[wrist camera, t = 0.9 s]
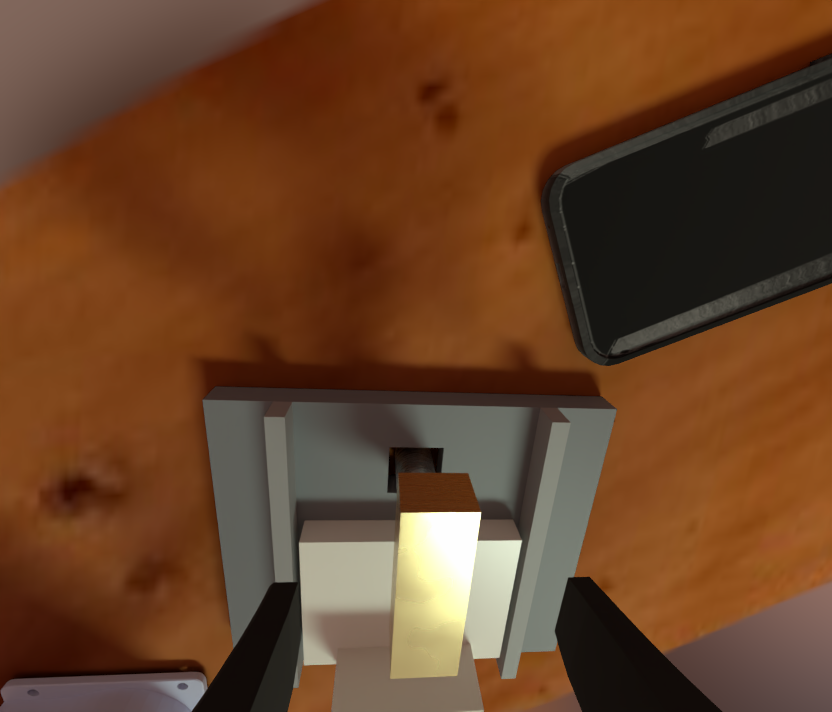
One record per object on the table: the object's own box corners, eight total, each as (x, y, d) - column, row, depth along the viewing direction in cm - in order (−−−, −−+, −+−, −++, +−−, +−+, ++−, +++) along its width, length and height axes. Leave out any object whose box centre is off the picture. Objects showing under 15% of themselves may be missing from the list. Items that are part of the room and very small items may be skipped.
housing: (243, 637, 20) (226, 691, 18) (215, 386, 16) (187, 415, 13) (545, 628, 22) (564, 676, 20) (601, 396, 17) (634, 424, 15)
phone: (965, 233, 15) (590, 374, 16) (926, 232, 16) (577, 364, 17) (990, -11, 13) (541, 172, 13) (943, 7, 14) (529, 175, 14)
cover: (308, 638, 19) (291, 736, 15) (304, 520, 17) (283, 603, 13) (492, 632, 20) (516, 724, 16) (513, 519, 18) (546, 597, 14)
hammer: (387, 509, 18) (390, 678, 12) (393, 391, 16) (400, 512, 10) (430, 509, 19) (457, 676, 12) (441, 392, 17) (481, 512, 10)
